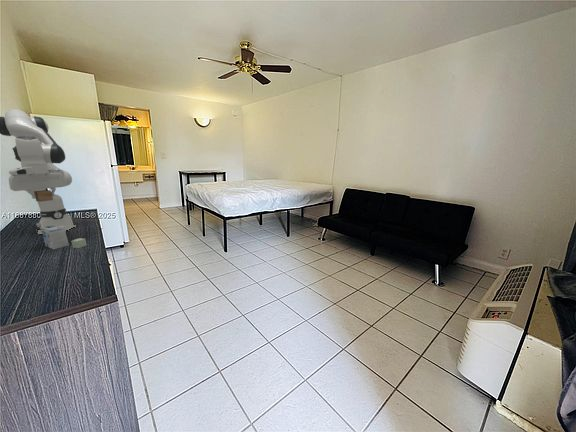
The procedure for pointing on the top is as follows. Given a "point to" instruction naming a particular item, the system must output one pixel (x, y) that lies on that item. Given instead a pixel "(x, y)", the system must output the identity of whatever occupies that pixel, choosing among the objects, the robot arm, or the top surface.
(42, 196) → the walnut cube
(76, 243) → the sage block
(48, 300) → the top surface
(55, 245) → the light bulb box
